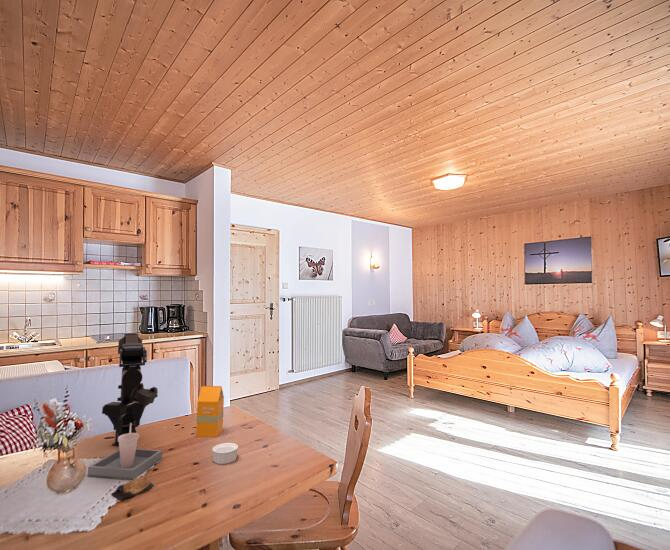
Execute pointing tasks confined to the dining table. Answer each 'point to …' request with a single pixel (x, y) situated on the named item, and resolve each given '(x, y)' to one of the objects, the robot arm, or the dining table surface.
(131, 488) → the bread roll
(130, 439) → the smoothie
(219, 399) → the orange juice
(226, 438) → the dining table surface
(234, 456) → the ramekin
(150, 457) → the gray square tray
